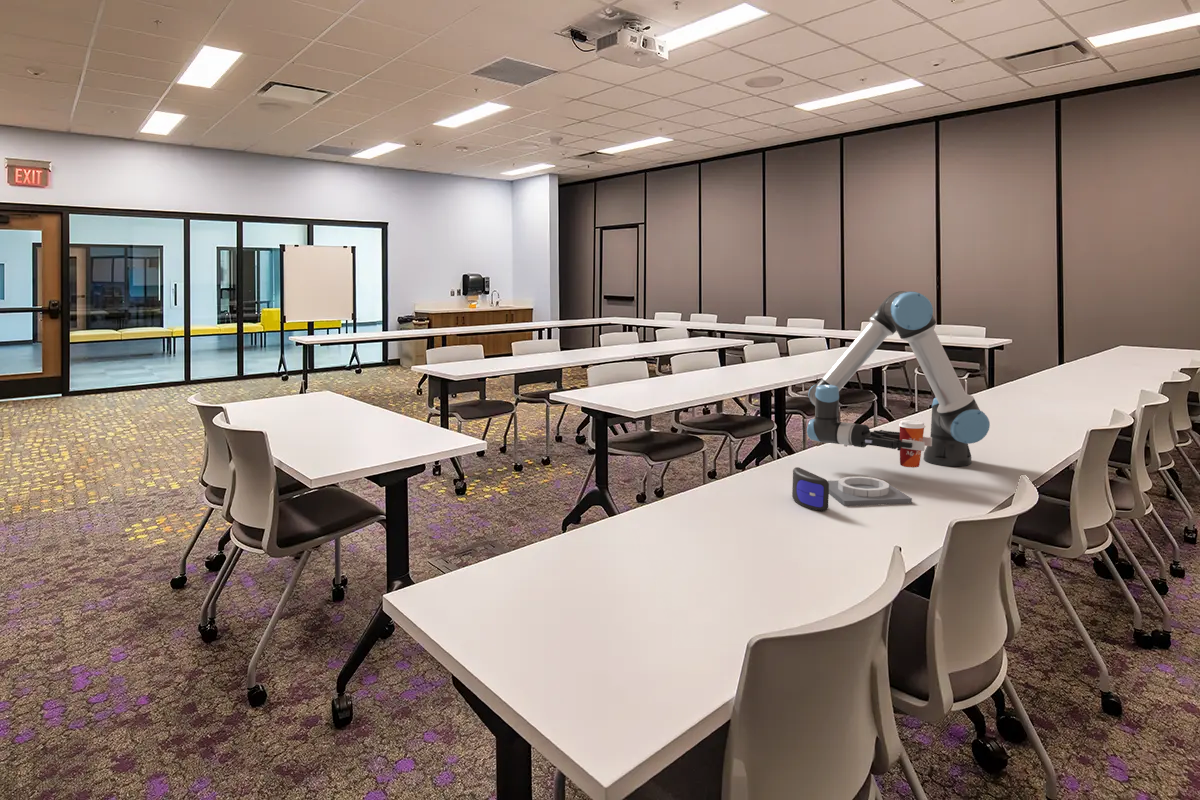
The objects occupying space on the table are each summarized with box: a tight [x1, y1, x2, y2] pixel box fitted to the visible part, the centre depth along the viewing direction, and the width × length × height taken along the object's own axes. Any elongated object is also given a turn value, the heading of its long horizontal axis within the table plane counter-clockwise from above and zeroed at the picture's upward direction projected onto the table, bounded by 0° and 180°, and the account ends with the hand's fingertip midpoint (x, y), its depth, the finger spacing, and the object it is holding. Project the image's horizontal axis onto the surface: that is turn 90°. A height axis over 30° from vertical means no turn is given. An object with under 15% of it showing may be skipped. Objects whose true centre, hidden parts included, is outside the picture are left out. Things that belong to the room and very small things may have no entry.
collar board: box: [827, 475, 913, 507], centre depth 210 cm, size 20×20×4 cm
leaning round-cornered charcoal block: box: [791, 467, 830, 512], centre depth 201 cm, size 16×5×9 cm, turn 17°
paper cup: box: [898, 419, 926, 469], centre depth 218 cm, size 8×8×14 cm
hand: (927, 444), depth 215 cm, fingers closed on paper cup, 6 cm apart
